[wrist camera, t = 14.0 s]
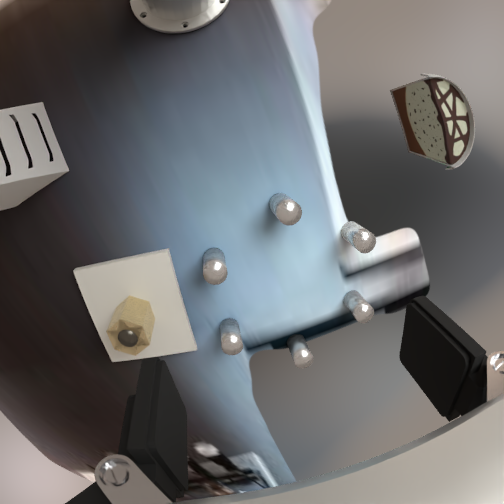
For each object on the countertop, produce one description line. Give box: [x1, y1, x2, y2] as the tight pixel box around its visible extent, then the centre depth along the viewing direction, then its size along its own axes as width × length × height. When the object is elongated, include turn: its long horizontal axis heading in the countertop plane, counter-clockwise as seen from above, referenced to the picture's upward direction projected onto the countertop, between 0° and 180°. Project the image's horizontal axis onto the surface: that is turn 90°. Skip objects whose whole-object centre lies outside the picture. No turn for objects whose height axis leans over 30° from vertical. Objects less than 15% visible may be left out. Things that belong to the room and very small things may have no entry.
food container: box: [390, 73, 475, 170], centre depth 33 cm, size 12×6×10 cm, turn 22°
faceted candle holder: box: [106, 295, 155, 356], centre depth 39 cm, size 6×5×6 cm
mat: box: [73, 248, 197, 362], centre depth 42 cm, size 16×14×1 cm
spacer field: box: [203, 193, 376, 368], centre depth 42 cm, size 25×22×5 cm
